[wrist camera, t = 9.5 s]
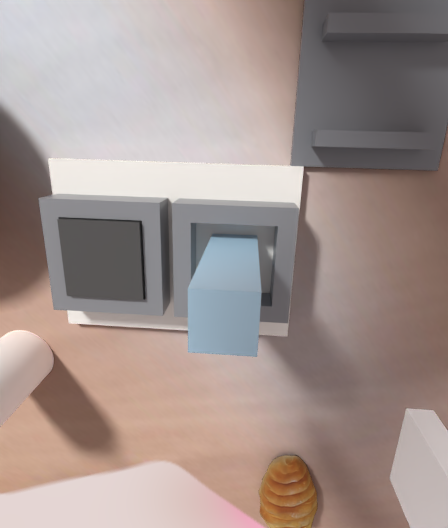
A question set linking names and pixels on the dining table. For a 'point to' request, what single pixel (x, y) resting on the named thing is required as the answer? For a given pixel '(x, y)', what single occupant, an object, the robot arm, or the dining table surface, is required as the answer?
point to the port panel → (163, 236)
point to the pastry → (288, 494)
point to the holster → (372, 84)
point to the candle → (21, 368)
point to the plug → (226, 297)
